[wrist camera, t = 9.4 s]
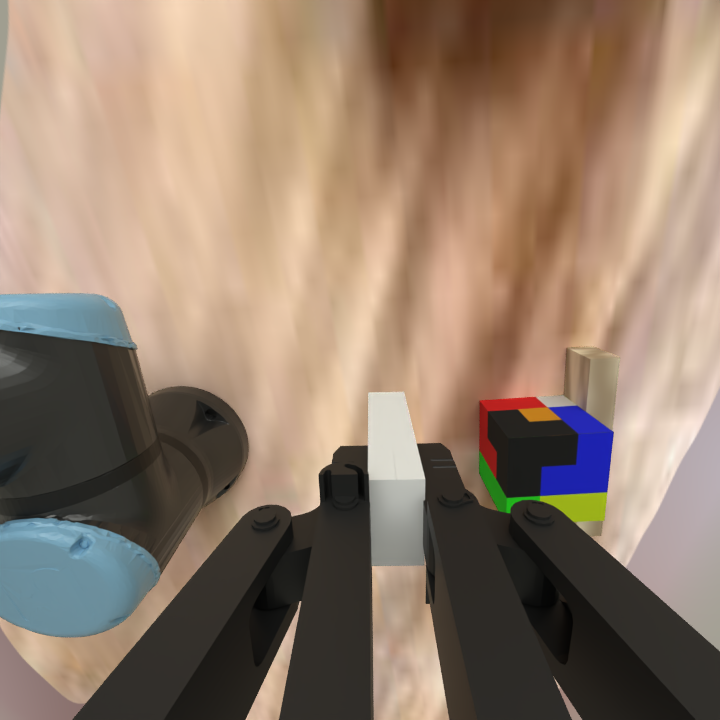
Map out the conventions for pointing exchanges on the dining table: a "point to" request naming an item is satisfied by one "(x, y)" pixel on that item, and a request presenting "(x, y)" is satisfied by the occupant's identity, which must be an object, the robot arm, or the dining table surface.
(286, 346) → the dining table surface
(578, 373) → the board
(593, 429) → the puzzle toy
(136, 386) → the robot arm
